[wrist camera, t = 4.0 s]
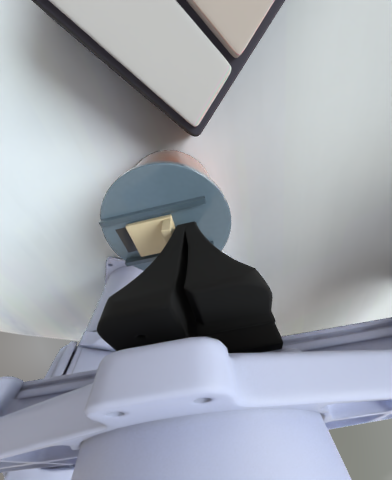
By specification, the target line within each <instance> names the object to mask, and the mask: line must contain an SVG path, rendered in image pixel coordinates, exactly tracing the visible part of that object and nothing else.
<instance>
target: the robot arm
mask: <svg viewBox="0 0 392 480" xmlns="http://www.w3.org/2000/svg"><path fill="white" fill-rule="evenodd" d="M271 306H272V292H271V290H270V288H269V286H268V285H267V283H266V282H265V280H264V279H263V278H262V276H261V275H260V274H259V273H258V271H257V270H256V269H255V268H253V267H250V266H248V265H245V264H243V263H240V262H238V261H236V260H234V259H232V258H231V257H229V256H227V255H226V254H224V253H223V252H221V251H220V250H219V249H217V248H216V247H215V246H214V245H213V244H212V243H211V242H210V241H209V240H208V239H207V238H206V237H205V236H204V235H203V233H202V232H201V231H200V229H199V228H198V226H197V223H196V222H195V221H194V222H189V223H185V224H180V225H177V226H176V228H175V230H174V232H173V234H172V236H171V237H170V239H169V241H168V242H167V244H166V245H165V247H164V248H163V250H162V251H161V253H160V254H159V255H158V256H157V258H156V259H155V260H154V261H153V262H152V263H151V264H150V265H149V266H148V267H147V268H146V269H145V270H144V271H143V270H141V269H138V268H136V267H134V266H128V267H127V266H126V265H125V261H124V260H123V259H117V258H112V257H109V258H107V260H106V279H105V288H104V290H103V292H102V294H101V297H100V299H99V301H98V304H97V306H96V308H95V310H94V313H93V315H92V317H91V320H90V322H89V324H88V326H87V329H86V331H85V332H84V333H83V336H82V338H81V340H80V343H79V345H78V346H76V345H77V342H73V341H72V342H70V343H69V344H68V345H66V346H64V347H62V348H61V349H60V350H59V352H58V354H57V355H56V357H55V359H54V361H53V362H52V364H51V366H50V368H49V370H48V372H47V374H46V376H45V378H44V379H38V380H33V381H27V382H23V380H21V379H19V378H15V377H9V376H6V377H0V473H3V476H4V477H5V478H4V480H351V478H350V476H349V473H348V471H347V469H346V467H345V465H344V463H343V461H342V459H341V457H340V455H339V452H338V450H337V448H336V446H335V444H334V442H333V439H332V438H331V435H330V433H329V431H328V430H329V429H335V428H340V427H346V426H351V425H357V424H362V423H368V422H374V421H379V420H384V419H391V418H392V317H391V318H385V319H380V320H374V321H368V322H363V323H357V324H351V325H346V326H340V327H334V328H328V329H323V330H317V331H311V332H306V333H300V334H294V335H289V336H283V337H281V336H280V334H279V331H278V329H277V327H276V325H275V323H274V322H275V318H274V316H273V314H272V312H271Z"/></svg>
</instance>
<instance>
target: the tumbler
mask: <svg viewBox="0 0 392 480" xmlns="http://www.w3.org/2000/svg"><path fill="white" fill-rule="evenodd" d="M169 214H171V216H172V219H173V222H174V225H175V228H176V226H177V225H180V224H185V223H189V222H194V221H195V222H196V223H197V226H198V228H199V229H200V231H201V232H202V233H203V235H204V236H205V237H206V238H207V239H208V240H209V241H210V242H211V243H212V244H213V245H214V246H215V247H216V248H217V249H219V250H220V251H222V249H223V248H224V246H225V244H226V242H227V240H228V237H229V234H230V229H231V214H230V209H229V206H228V203H227V201H226V199H225V197H224V195H223V193H222V191H221V190H220V189H219V187H218V186H217V185H216V184H215V182H214V181H213V180H212V179H211V178H210V176H209V174H208V172H207V171H206V169H205V168H204V167H203V166H202V164H201V163H200V162H198V161H197V160H196V159H195V158H193V157H191V156H190V155H188V154H185V153H183V152H179V151H174V150H163V151H158V152H155V153H152V154H150V155H148V156H146V157H145V158H143V159H142V160H141V161H140V162H139V163H138V164H137V165H136V166H135V167H133V168H131V169H130V170H128V171H126V172H125V173H124V174H122V175H121V176H120V177H119V178H118V179H117V180H116V181H115V182H114V183H113V184H112V185H111V187H110V188H109V189H108V191H107V192H106V195H105V197H104V199H103V202H102V206H101V213H100V219H101V221H100V222H99V224H100V225H101V227H102V231H103V233H104V236H105V238H106V240H107V242H108V244H109V245H110V246H111V248H112V249H113V250H114V251H115V253H116V254H117V255H118V256H120V257H121V258H122V259H123V260H124V261H125V265H126V266H127V267H128V266H134V267H136V268H138V269H141V270H143V271H144V270H145V269H146V268H147V267H148V266H149V265H150V264H151V263H152V262H153V261H154V260H155V259H156V258H157V256H158V255H159V254H160V253H157V254H152V255H148V256H143V257H141V255H140V253H139V252H138V250H137V248H136V246H135V244H134V242H133V240H132V239H131V237H130V235H129V233H128V231H127V229H126V225H127V224H130V223H134V222H139V221H143V220H148V219H152V218H156V217H161V216H165V215H169Z"/></svg>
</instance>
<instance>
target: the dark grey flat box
mask: <svg viewBox="0 0 392 480" xmlns="http://www.w3.org/2000/svg"><path fill="white" fill-rule="evenodd" d="M32 1H33V2H34V3H35V4H36V5H38V6H39V7H40V8H41V9H42V10H43V11H44V12H46V13H47V14H48V15H49V16H50V17H51V18H52V19H53V20H55V21H56V22H57V23H58V24H59V25H60V26H62V27H63V28H64V29H65V30H66V31H67V32H69V33H70V34H71V35H72V36H73V37H75V38H76V39H77V40H78V41H79V42H80V43H82V44H83V45H84V46H85V47H86V48H88V49H89V50H90V51H91V52H92V53H94V54H95V55H96V56H97V57H98V58H99V59H101V60H102V61H103V62H104V63H105V64H107V65H108V66H109V67H110V68H111V69H112V70H114V71H115V72H116V73H117V74H118V75H120V76H121V77H122V78H123V79H124V80H126V81H127V82H128V83H129V84H130V85H131V86H133V87H134V88H135V89H136V90H137V91H139V92H140V93H141V94H142V95H143V96H144V97H146V98H147V99H148V100H149V101H150V102H152V103H153V104H154V105H155V106H156V107H158V108H159V109H160V110H161V111H162V112H163V113H165V114H166V115H167V116H168V117H169V118H171V119H172V120H173V121H174V122H175V123H176V124H178V125H179V126H180V127H181V128H182V129H184V130H185V131H186V132H187V133H189V134H190V135H192V136H199V135H200V134H201V132H202V131H203V129H204V128H205V126H206V125H207V123H208V121H209V120H210V118H211V117H212V115H213V113H214V112H215V110H216V109H217V107H218V106H219V104H220V102H221V101H222V99H223V98H224V96H225V95H226V93H227V91H228V90H229V88H230V87H231V85H232V83H233V82H234V80H235V79H236V77H237V76H238V74H239V72H240V71H241V69H242V68H243V66H244V64H245V63H246V61H247V60H248V58H249V57H250V55H251V53H252V52H253V50H254V49H255V47H256V45H257V44H258V42H259V41H260V39H261V38H262V36H263V34H264V33H265V31H266V30H267V28H268V26H269V25H270V23H271V22H272V20H273V19H274V17H275V15H276V14H277V12H278V11H279V9H280V7H281V6H282V4H283V3H284V1H285V0H32Z"/></svg>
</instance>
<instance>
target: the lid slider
mask: <svg viewBox="0 0 392 480" xmlns="http://www.w3.org/2000/svg"><path fill="white" fill-rule="evenodd" d="M126 229H127V231H128V233H129V235H130V237H131V239H132V240H133V242H134V244H135V246H136V248H137V250H138V252H139V253H140V255H141V257H143V256H148V255H152V254H157V253H161V251H162V250H163V248H164V247H165V245H166V244H167V242H168V241H169V239H170V237H171V236H172V234H173V232H174V230H175V225H174V222H173V219H172V216H171V214H169V215H165V216H161V217H156V218H152V219H148V220H143V221H139V222H134V223H130V224H127V225H126Z"/></svg>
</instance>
